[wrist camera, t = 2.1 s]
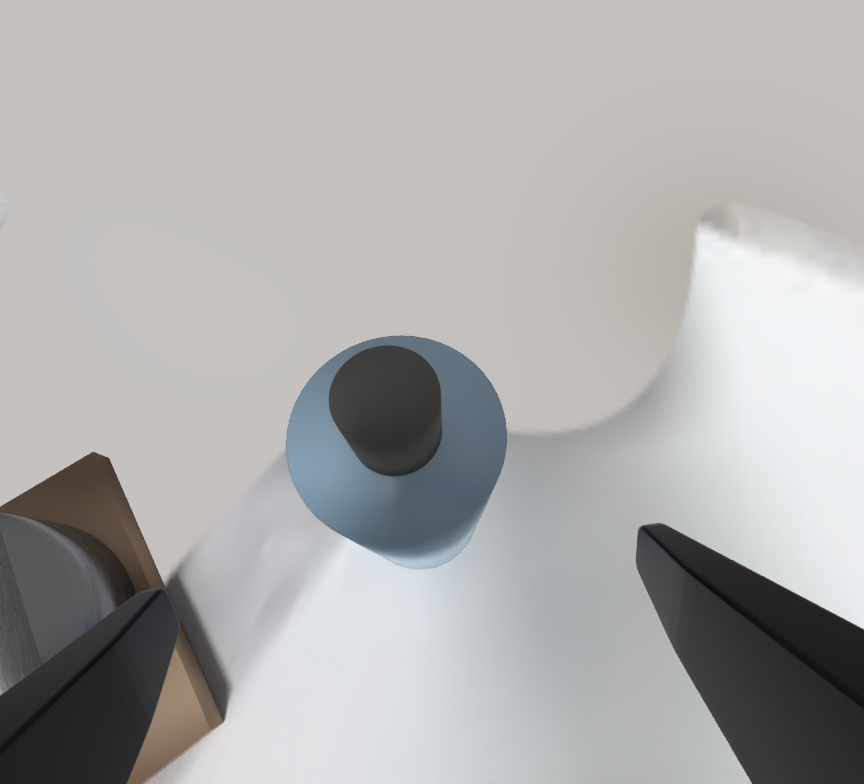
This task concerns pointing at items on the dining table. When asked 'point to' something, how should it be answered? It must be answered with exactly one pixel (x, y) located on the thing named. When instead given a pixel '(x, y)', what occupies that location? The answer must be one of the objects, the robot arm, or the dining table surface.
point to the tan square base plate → (89, 594)
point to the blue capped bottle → (398, 448)
